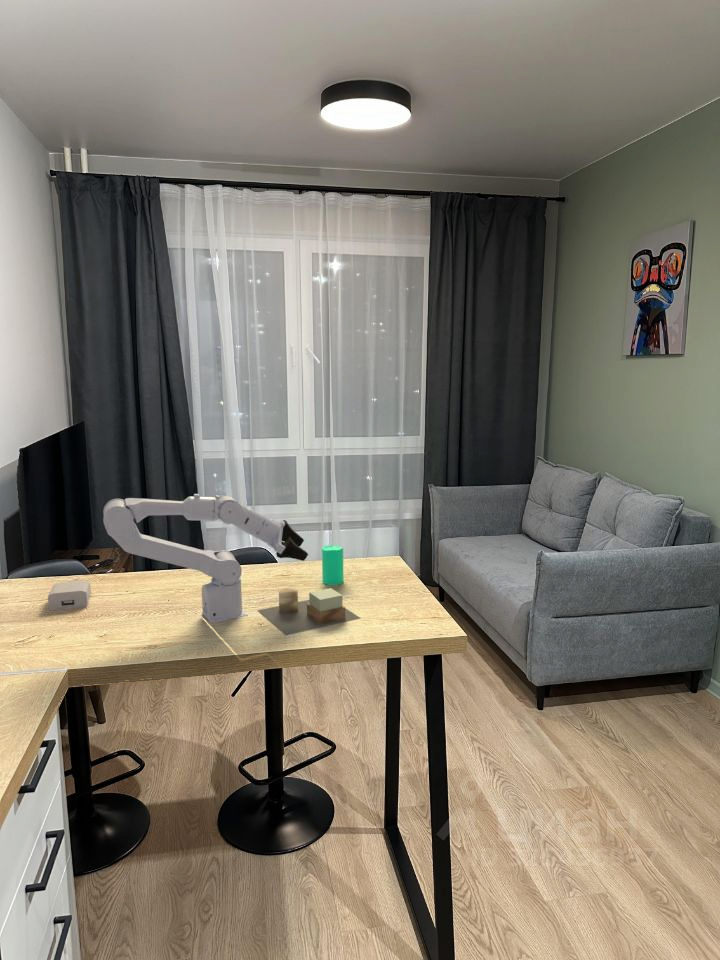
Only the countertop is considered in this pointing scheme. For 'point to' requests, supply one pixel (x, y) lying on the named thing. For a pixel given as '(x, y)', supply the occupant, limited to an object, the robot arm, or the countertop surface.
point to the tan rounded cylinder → (288, 600)
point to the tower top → (325, 599)
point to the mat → (298, 619)
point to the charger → (69, 595)
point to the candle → (332, 565)
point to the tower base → (325, 614)
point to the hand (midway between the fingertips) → (303, 550)
